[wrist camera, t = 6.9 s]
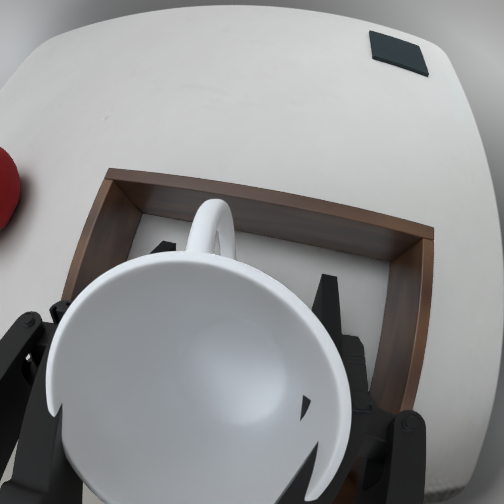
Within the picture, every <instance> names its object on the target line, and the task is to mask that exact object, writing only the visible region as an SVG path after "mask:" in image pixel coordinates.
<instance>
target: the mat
mask: <svg viewBox="0 0 504 504" xmlns="http://www.w3.org/2000/svg"><path fill="white" fill-rule="evenodd" d="M369 35H370V42H371V49H372V57H373V59H376V60H379V61H383V62H386V63H389V64H393V65H396V66H399V67H402V68H405V69H408V70H411V71H414V72H416V73H419V74H422V75H424V76H427V77H428V75H429V73H428V70H427V67H426V64H425V61H424V58H423V55H422V53H421V50H420V47H419V46H417V45H415V44H412V43H409V42H406V41H403V40H400V39H397V38H394V37H391V36H388V35H384V34H381V33H377V32H374V31H369Z"/></svg>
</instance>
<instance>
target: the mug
mask: <svg viewBox="0 0 504 504" xmlns="http://www.w3.org/2000/svg"><path fill="white" fill-rule="evenodd" d="M217 230H218V237H219V245H220V255H215V254H214V245H215V238H216V233H217ZM303 395H304V396H306V397H307V398H309V399H310V400H311V402H310V405H309V408H308V410H307V412H306V414H305V415H304V417H303V418H302V420H301V421H300V417H301V408H302V399H303ZM46 397H47V405H48V410H49V412H50V414H51V415H52V416H53V417H55V416H56V414H57V412H58V410H59V408H60V406H61V404H62V408H63V415H62V444H63V448H64V452H65V456H66V458H67V460H68V462H69V463H70V465H71V466H72V468H73V469H74V471H75V472H76V473H77V475H78V476H79V477H80V479H81V480H82V481H83V482H84V483H85V485H86V486H87V487H88V488H89V489H90V490H91V491H92V492H93V493H94V494H95V495H96V496H97V497H98V498H99V499H100V500H101V501H103V502H104V503H105V504H274V503H275V502H276V500H277V499H278V498H279V496H280V495H281V493H282V492H283V491H284V489H285V488H286V486H287V485H288V484H289V482H290V481H291V479H292V478H293V476H294V475H295V474H296V472H297V471H298V469H299V468H300V466H301V465H302V463H303V462H304V461H305V459H306V458H307V456H308V455H309V453H310V452H311V451H312V449H313V448H314V446H315V445H316V443H317V442H318V449H317V455H316V460H315V465H314V469H313V473H312V476H311V479H310V483H309V486H308V489H307V492H306V495H305V501H312V500H315V499H317V498H318V497H319V496H320V495H321V494H322V493H323V491H324V490H325V489H326V488H327V486H328V485H329V483H330V482H331V480H332V479H333V477H334V476H335V474H336V472H337V470H338V468H339V466H340V464H341V461H342V459H343V456H344V454H345V451H346V447H347V444H348V439H349V434H350V428H351V395H350V389H349V383H348V379H347V375H346V371H345V368H344V365H343V362H342V360H341V357H340V355H339V353H338V350H337V348H336V346H335V344H334V342H333V341H332V339H331V337H330V335H329V334H328V332H327V331H326V329H325V328H324V326H323V325H322V323H321V322H320V321H319V319H318V318H317V317H316V316H315V314H314V313H313V312H312V311H311V310H310V309H309V308H308V307H307V306H306V304H305V303H304V302H303V301H301V300H300V299H299V298H298V297H297V296H296V295H295V294H294V293H293V292H291V291H290V290H289V289H288V288H286V287H285V286H284V285H282V284H281V283H280V282H278V281H277V280H275V279H274V278H272V277H270V276H269V275H267V274H265V273H263V272H262V271H260V270H258V269H256V268H254V267H251V266H249V265H247V264H244V263H242V262H239V261H237V260H236V245H235V233H234V224H233V218H232V214H231V210H230V208H229V206H228V204H227V203H226V202H225V201H223V200H221V199H210V200H207V201H205V202H204V203H203V204H202V205H201V206H200V208H199V209H198V211H197V213H196V215H195V218H194V220H193V223H192V226H191V230H190V233H189V237H188V242H187V246H186V250H185V251H169V252H160V253H154V254H149V255H145V256H141V257H138V258H135V259H132V260H129V261H127V262H124V263H122V264H120V265H118V266H116V267H114V268H112V269H110V270H109V271H107V272H105V273H104V274H102V275H101V276H99V277H98V278H97V279H95V280H94V281H93V282H92V283H90V284H89V285H88V286H87V287H86V288H85V289H84V290H83V291H82V292H81V293H80V294H79V295H78V296H77V298H76V299H75V300H74V301H73V302H72V304H71V305H70V307H69V308H68V309H67V311H66V313H65V314H64V316H63V318H62V319H61V321H60V323H59V325H58V328H57V330H56V332H55V335H54V337H53V340H52V344H51V347H50V351H49V355H48V361H47V369H46Z"/></svg>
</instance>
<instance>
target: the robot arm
mask: <svg viewBox="0 0 504 504" xmlns="http://www.w3.org/2000/svg"><path fill="white" fill-rule="evenodd" d="M169 251H176V243H171V242H166V241H162V242H161V243H160V244H159V245H158V246H157V247H156V248H155V249H154V250H153V251H152V252H151V253H150V254H154V253H160V252H169ZM72 302H73V301H70V300H63V301H59V302H57V303H55V304H54V305H52V306H51V308H50V309H49V311H50V314H51V317H52V319H53V322H54V323H48V322H43V321H42V318H41V316H40V314H38V313H37V312H32V311H31V312H26V313H24V314H22V315H21V316H20V317H19V318H18V319H17V320H16V321H15V322H14V324H13V325H12V326H11V327H10V329H9V330H8V331H7V332H6V334H5V335H4V336H3V338H2V339H1V340H0V480H1V478H2V476H3V473H4V471H5V468H6V466H7V463H8V461H9V459H10V457H11V454H12V452H13V450H14V448H15V445H16V443H17V441H18V439H19V441H18V445H17V450H16V456H15V462H14V467H13V474H12V478H11V479H10V480H9V481H7V482H4V483H3V484H2V486H1V488H0V504H82V490H83V481H82V480H81V479H80V477H79V476H78V475H77V473H76V472H75V471H74V469H73V468H72V466H71V465H70V463H69V462H68V460H67V458H66V456H65V452H64V448H63V444H62V415H63V408H62V404H61V406H60V408H59V410H58V412H57V414H56V416H55V417H53V416H52V415H51V414H50V412H49V410H48V405H47V397H46V369H47V361H48V355H49V351H50V347H51V344H52V340H53V337H54V335H55V332H56V330H57V328H58V325H59V323H60V321H61V319H62V318H63V316H64V314H65V313H66V311H67V309H68V308H69V307H70V305H71V304H72ZM311 311H312V312H313V313H314V314H315V316H316V317H317V318H318V319H319V321H320V322H321V323H322V325H323V326H324V328H325V329H326V331H327V332H328V334H329V335H330V337H331V339H332V341H333V342H334V344H335V346H336V348H337V350H338V353H339V355H340V357H341V360H342V362H343V365H344V368H345V371H346V375H347V379H348V383H349V389H350V395H351V428H350V434H349V439H348V444H347V447H346V451H345V454H344V456H343V459H342V461H341V464H340V466H339V468H338V470H337V472H336V474H335V476H334V477H333V479H332V480H331V482H330V483H329V485H328V486H327V488H326V489H325V490H324V491H323V493H322V494H321V495H320V496H319V497H318V498H317V499H315V500H312V501H305V495H306V492H307V489H308V486H309V483H310V479H311V476H312V473H313V469H314V465H315V460H316V455H317V449H318V442H317V443H316V445H315V446H314V448H313V449H312V451H311V452H310V453H309V455H308V456H307V458H306V459H305V461H304V462H303V463H302V465H301V466H300V468H299V469H298V471H297V472H296V474H295V475H294V476H293V478H292V479H291V481H290V482H289V484H288V485H287V486H286V488H285V489H284V491H283V492H282V493H281V495H280V496H279V498H278V499H277V500H276V502H275V503H274V504H332V503H333V501H334V499H335V498H336V496H337V494H338V492H339V490H340V489H341V487H342V485H343V483H344V481H345V479H346V477H347V475H348V473H349V471H350V469H351V467H352V465H353V463H354V461H355V459H356V457H357V455H358V456H361V457H363V459H362V465H361V471H360V476H359V482H358V487H357V491H356V496H355V501H354V504H423V499H424V487H425V470H426V425H425V421H424V419H423V418H422V416H421V415H420V414H418V413H417V412H415V411H413V410H403V411H401V412H399V413H398V414H397V415H395V414H393V413H390V412H387V411H385V410H382V409H380V408H379V407H377V406H376V405H375V402H374V400H373V399H372V398H371V396H370V395H369V393H368V383H367V372H366V365H365V357H364V356H365V354H364V346H363V344H362V343H361V341H360V339H359V338H358V337H356V336H350V335H344V334H342V333H341V318H340V304H339V292H338V282H337V277H336V276H331V275H326V274H322V276H321V280H320V283H319V287H318V290H317V293H316V297H315V300H314V303H313V307H312V310H311ZM28 354H29V355H30V358H29V359H28V360H26V357H27V355H28ZM310 402H311V400H310V399H309V398H307V397H306V396H304V395H303V399H302V408H301V417H300V421H301V420H302V418H303V417H304V415H305V414H306V412H307V410H308V408H309V405H310Z"/></svg>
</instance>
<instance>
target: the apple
mask: <svg viewBox="0 0 504 504" xmlns="http://www.w3.org/2000/svg"><path fill="white" fill-rule="evenodd" d="M19 198H20V178H19V174H18V171H17V167H16V165H15V163H14V161H13V159H12V158H11V157H10V155H9V154H8V153H7V152H6V151H5V150H4V149H3V148H1V147H0V230H1V229H2V228H3V227H5V226H6V225H7V223H8V221H9V220H10V218H11V216H12V214H13V212H14V210H15V208H16V206H17V204H18V202H19Z"/></svg>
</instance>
